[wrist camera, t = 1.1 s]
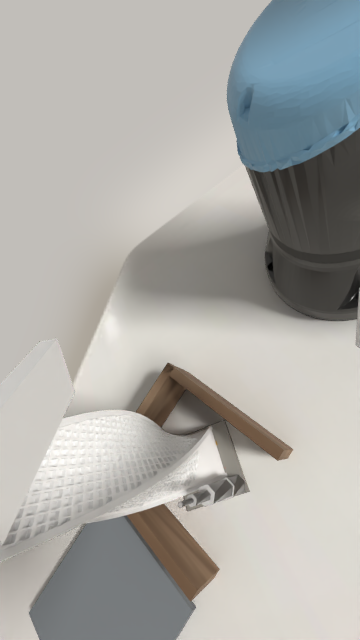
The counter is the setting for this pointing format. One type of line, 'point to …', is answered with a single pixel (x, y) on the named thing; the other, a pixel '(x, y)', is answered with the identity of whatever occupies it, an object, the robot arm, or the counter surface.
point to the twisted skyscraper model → (121, 474)
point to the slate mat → (111, 590)
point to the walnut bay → (158, 522)
